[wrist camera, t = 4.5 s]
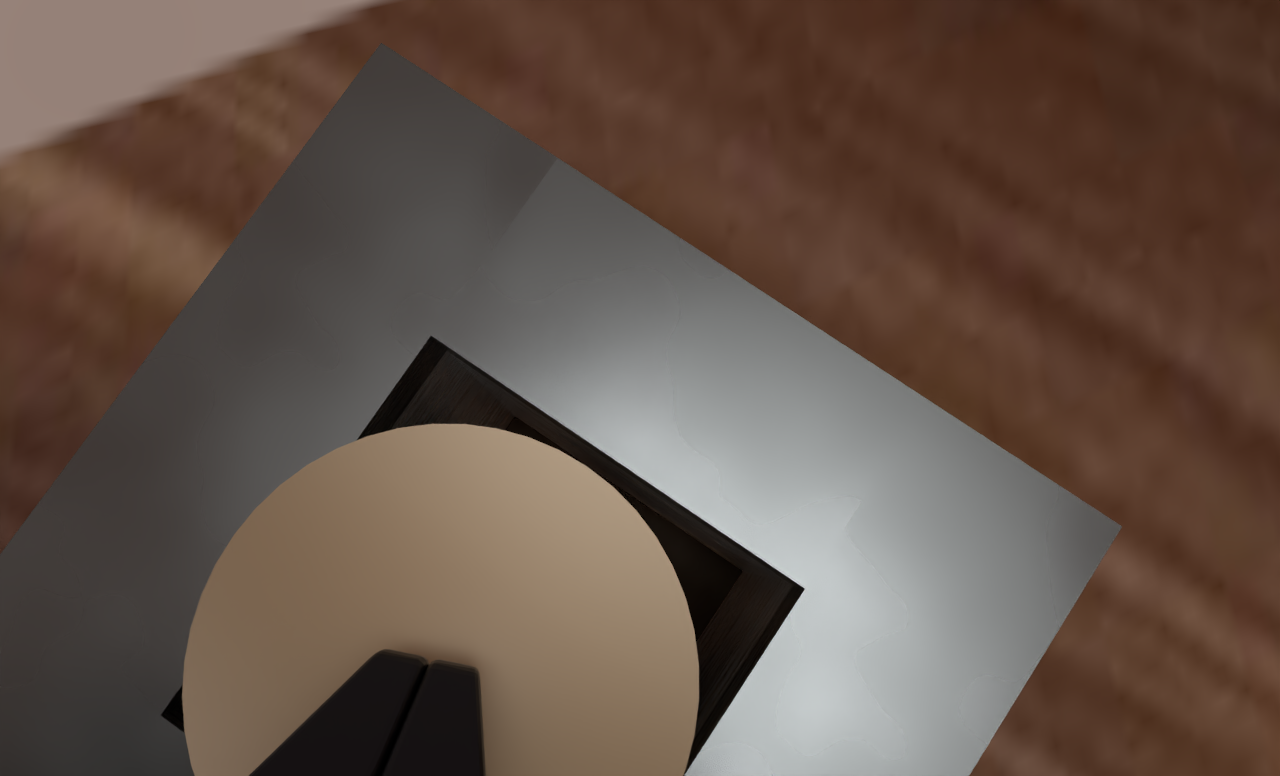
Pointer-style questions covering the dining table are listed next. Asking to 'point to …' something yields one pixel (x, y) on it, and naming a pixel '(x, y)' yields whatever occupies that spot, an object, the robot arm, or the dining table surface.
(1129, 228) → the dining table surface
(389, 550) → the peg
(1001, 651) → the collar
